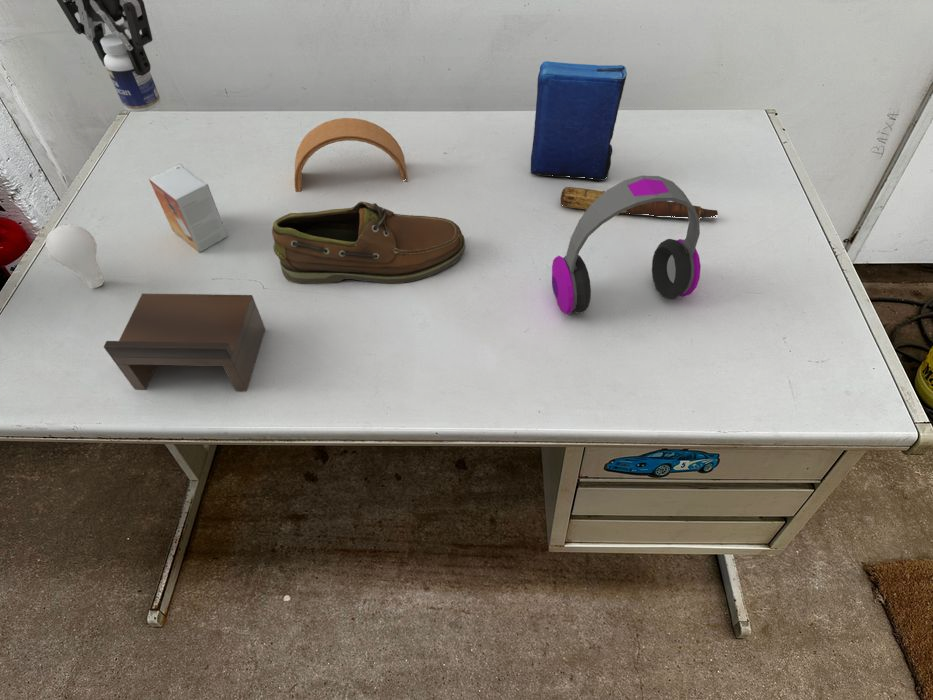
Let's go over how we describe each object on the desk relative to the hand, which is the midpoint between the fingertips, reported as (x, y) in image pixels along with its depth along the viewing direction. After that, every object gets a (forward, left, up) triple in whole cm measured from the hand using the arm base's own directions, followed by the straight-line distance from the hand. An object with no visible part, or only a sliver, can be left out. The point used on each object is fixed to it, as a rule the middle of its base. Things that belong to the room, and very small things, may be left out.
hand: (127, 68), depth 89 cm
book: (+60, +33, -23) cm, 72 cm away
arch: (+24, +17, -23) cm, 37 cm away
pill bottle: (0, 0, -6) cm, 6 cm away
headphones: (+76, +6, -23) cm, 80 cm away
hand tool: (+74, +27, -23) cm, 82 cm away
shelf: (+26, -28, -23) cm, 44 cm away
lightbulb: (+2, -23, -23) cm, 33 cm away
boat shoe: (+39, -2, -23) cm, 45 cm away
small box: (+9, -7, -23) cm, 26 cm away
